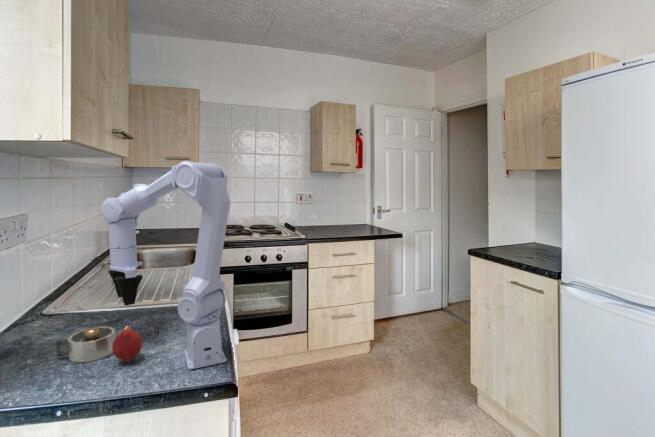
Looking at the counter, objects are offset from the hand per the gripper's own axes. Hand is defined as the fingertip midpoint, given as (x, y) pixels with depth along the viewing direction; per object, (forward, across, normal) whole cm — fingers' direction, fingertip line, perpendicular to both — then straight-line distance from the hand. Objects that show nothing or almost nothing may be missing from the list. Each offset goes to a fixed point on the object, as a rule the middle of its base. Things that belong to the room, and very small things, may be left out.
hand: (126, 300), depth 88 cm
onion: (+11, -12, +2) cm, 16 cm away
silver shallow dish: (+10, -2, +9) cm, 14 cm away
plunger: (+9, -2, +8) cm, 12 cm away
